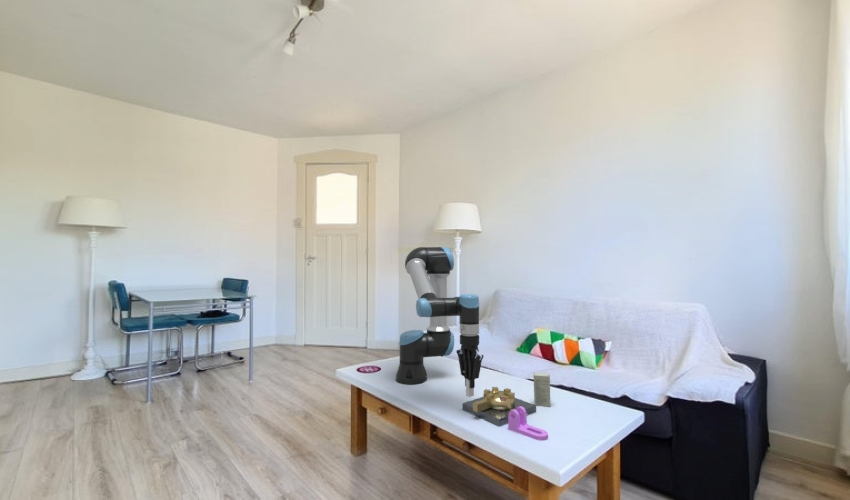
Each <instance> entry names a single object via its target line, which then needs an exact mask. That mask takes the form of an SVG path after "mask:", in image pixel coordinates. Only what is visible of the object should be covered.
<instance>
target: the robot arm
mask: <svg viewBox="0 0 850 500" xmlns="http://www.w3.org/2000/svg"><path fill="white" fill-rule="evenodd" d="M454 266H455V259H454V255H453V253H452V250H451V249H450V248H449V247H442V246H437V247H436V246H432V247H431V246H426V247H425V246H419V247H416V248H414V249H412V250H411V251H410V252H409V253H408V254H407V256H406V258H405V261H404V268H405V271H406V273H407V274H408V275H410V279H411V280H412V281H411V282H412V284H413V288H414V290H415V293H416V297H417V300H416V303H415V310H416V315H417V316H418V317H419V318H429V326H428V327H427V328H426V332H424V330H422V329H412V330H408V331H404V332H402V333H401V334H400V335H399V342H398V345H399V364H398V367H397V371H396V374H395V381H396V382H397V383H400V384H402V385H403V384H404V385H419V384H423V383H425V382H427V379H428V374H427V371H426V367H425V364H424V358H433V357H436V358H437V357H441V358H442V357H446V356H447V357H448V356H450V355H451V354H452V353H453V351H454V349H455V348H454V347H455V336H454V333H453V332H452V331H451V328H450V327H449V326H448V317H456V316H457V317H458V316H459V333H460V335H459V345H460V349H457V350H456V354H457V357H458V364H459V371H460V375H461V376H463V378H464V386H465V396H466V397H468V398H470V397H473V396H475V391H474V389H475V387H476V386H475V385H476V384H475V383H476V382H475V380H476V379H479V378H480V374H481V373H480V372H481V367H482V366H481V365H482V361H483V359H484V357H485V356H484V355H483V354H481V353H480V350H479V345H480V335H479V334H480V300H479V299H480V298H479V295H477V294H472V293H464V294H463V293H462V294H460V295H459V296H453V297H448V277H449V276H450V275H451V272H450V271H453V270H454Z"/></svg>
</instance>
